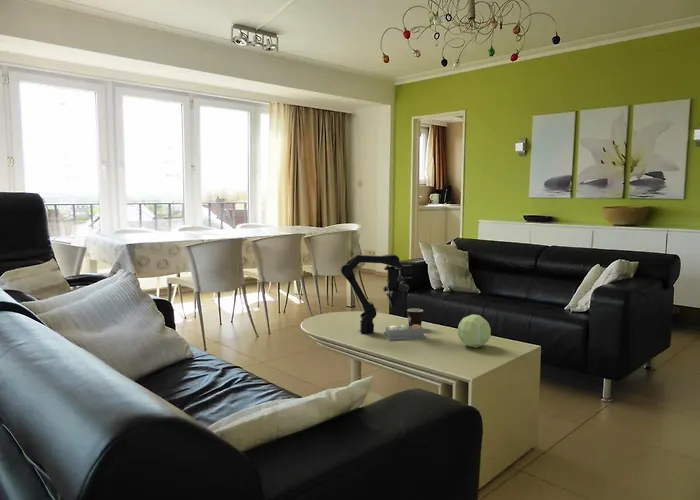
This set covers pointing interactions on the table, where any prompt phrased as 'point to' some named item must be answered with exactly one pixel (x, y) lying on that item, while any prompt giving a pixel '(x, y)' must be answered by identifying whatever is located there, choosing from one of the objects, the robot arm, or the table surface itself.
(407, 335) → the grey compartment tray
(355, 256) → the robot arm
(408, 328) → the sage button
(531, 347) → the table surface
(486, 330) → the decorative sphere
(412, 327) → the terracotta button
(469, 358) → the table surface
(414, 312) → the coffee mug
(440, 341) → the table surface
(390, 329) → the ivory button
